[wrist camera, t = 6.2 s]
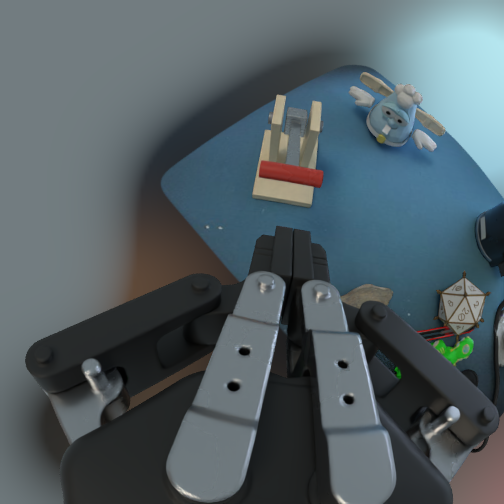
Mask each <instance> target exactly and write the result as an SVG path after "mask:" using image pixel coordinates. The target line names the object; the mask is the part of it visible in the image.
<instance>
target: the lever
mask: <svg viewBox="0 0 504 504" xmlns="http://www.w3.org/2000/svg"><path fill="white" fill-rule="evenodd" d="M306 123H307V110H303V109H297V108H291V107H288V110H287V116H286V123H285V130H284V134H285V135H289V139H288V147H287V154H286V162H285V164H284V163H278V162H272V161H265V160H261V163H260V168H259V178H265V179H272V180H278V181H284V182H289V183H295V184H301V185H306V186H311V187H316V188H320V187H321V185H322V181H323V171H322V170H317V169H311V168H306V167H301V166H299V157H300V137H304V134H305V128H306Z"/></svg>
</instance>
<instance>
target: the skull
mask: <svg viewBox="0 0 504 504" xmlns="http://www.w3.org/2000/svg"><path fill="white" fill-rule="evenodd" d="M497 328H498V329H497V330H496V323H494V329H495V332H496V334H497V335H496V336H498V343H499V349H498V359H499V367H501V366H502V365H504V310H502V311H501V314H500V318H499V323H498V326H497ZM494 362H495V361H494Z"/></svg>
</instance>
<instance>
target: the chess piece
mask: <svg viewBox="0 0 504 504" xmlns="http://www.w3.org/2000/svg"><path fill="white" fill-rule="evenodd" d="M461 373H462V374H463V375H465V376H466V377H467V378H468V379H469V380H470V381H471V382H472V383H473V384H474V385H475V386H476V387H477V386H478V376H477V374H476V373H475V372H474V371H473V370H464V371H462V372H461Z"/></svg>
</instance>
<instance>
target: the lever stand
mask: <svg viewBox="0 0 504 504" xmlns="http://www.w3.org/2000/svg"><path fill="white" fill-rule="evenodd" d="M285 99H286V96H282V95H277V97H276V102H275V108H274V112H270V113H269V119H268V124H271V131H270V130H265V134H264V139H263V144H262V148H261V153H260V159H259V164H258V169H257V174H256V179H255V184H254V189H253V198H256V199H262V200H269V201H275V202H280V203H286V204H292V205H298V206H303V207H309V208H310V207H311V205H312V198H313V189H314V187H311V186H306V185H301V184H295V183H289V182H284V181H278V180H272V179H265V178H259V168H260V163H261V160H265V161H272V162H278V163H284V164H285V162H286V154H287V147H288V139H289V135H285V134H284V133H283V132H281V131H282V123H283V115H284V107H285ZM321 104H322V103H321V102H316V101H313V102H312V106H311V110H310V114H309V118H308V122H307V126H306V130H305V134H304V137H300V157H299V166H301V167H306V168H311V169H316V158H317V146H318V139H317V138H318V135H319V132H320V133H321V132H322V129H323V121H320V120H321Z"/></svg>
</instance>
